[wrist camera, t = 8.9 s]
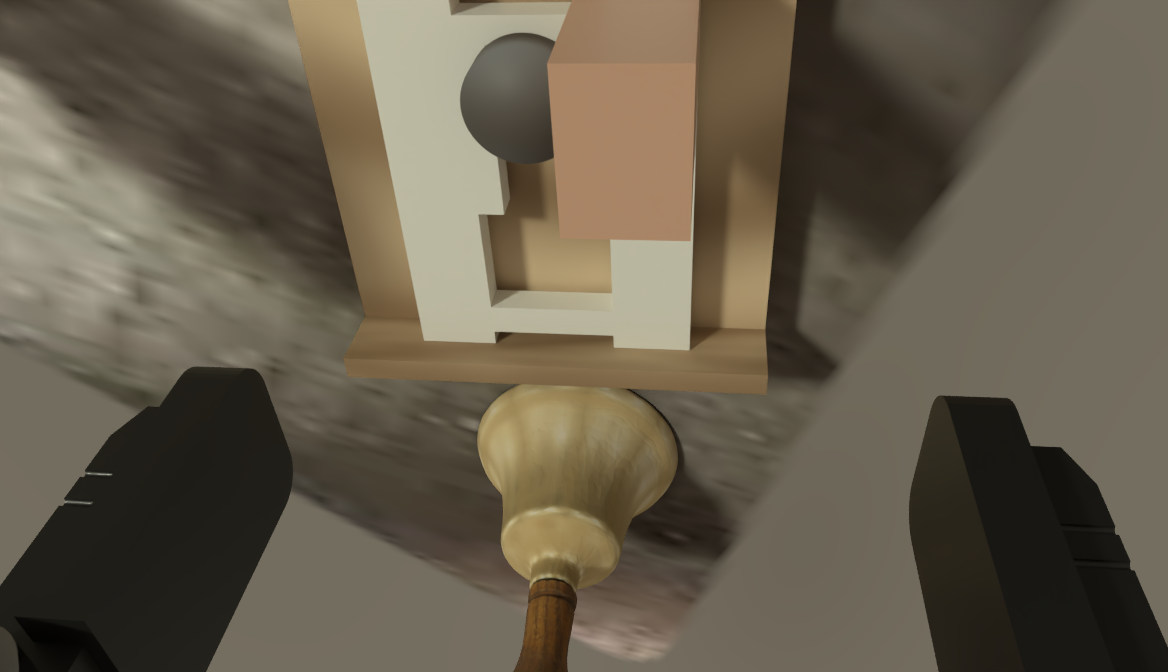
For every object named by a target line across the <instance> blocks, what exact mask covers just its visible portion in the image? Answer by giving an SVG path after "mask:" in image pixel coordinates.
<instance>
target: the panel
mask: <svg viewBox="0 0 1168 672" xmlns="http://www.w3.org/2000/svg"><path fill="white" fill-rule="evenodd" d="M356 1H357V6H358V11H359V16H360V21H361V26H362V31H363V36H364V41H365V46H366V51H367V56H368V61H369V66H370V71H371V76H372V81H373V86H374V91H375V97H376V102H377V107H378V112H379V117H380V122H381V127H382V132H383V137H384V142H385V147H386V152H387V157H388V162H389V167H390V172H391V177H392V182H393V187H394V192H395V197H396V202H397V207H398V212H399V217H400V222H401V227H402V232H403V237H404V242H405V247H406V252H407V257H408V262H409V267H410V272H411V277H412V283H413V288H414V293H415V298H416V303H417V308H418V313H419V318H420V323H421V328H422V333H423V338H424V341H446V342H474V343H496V341H497V338H498V335H499V332H520V333H548V334H577V335H606V336H613V338H614V348H637V349H665V350H690V325H691V294H692V262H693V231H694V199H695V168H696V136H697V104H698V73H699V41H700V10H701V0H572V2H517V3H459V0H356ZM512 33H533V34H538V35H541V36H544V37H547V38H549V39H551V40H553V41H555V45H554V47H553V50H552V52H551V55H550V57H549V60H548V63H547V69H548V83H549V96H550V110H551V123H552V136H553V150H554V163H555V177H556V190H557V204H558V217H559V231H560V238H564V239H609V240H610V251H611V280H612V293H585V292H551V291H517V290H497V287H496V279H495V272H494V264H493V256H492V249H491V241H490V233H489V226H488V218H487V215H504V214H505V211H506V208H507V205H508V203H509V200H510V193H509V184H508V175H507V166H506V160H503V159H501V158H499V157H496V156H495V155H493V154H491V153H489V152H488V151H487V150H485V149H484V148H483V147H482V146H481V145H480V144H479V143H478V142H477V141H476V140H475V139H474V138H473V136H472V135H471V133H470V132H469V130H468V129H467V127H466V125H465V122H464V120H463V117H462V113H461V108H460V92H461V87H462V83H463V81H464V78H465V76H466V74H467V72H468V71H469V69H470V67H471V65H472V64H473V62H474V60H475V58H476V57H477V55H478V54H479V53H480V51H481V50H482V49H483V48H484V47H485V46H486V45H487V44H489V43H490V42H492V41H493V40H495V39H497V38H499V37H501V36H504V35H507V34H512Z"/></svg>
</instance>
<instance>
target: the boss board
mask: <svg viewBox="0 0 1168 672" xmlns="http://www.w3.org/2000/svg"><path fill="white" fill-rule="evenodd" d="M288 2H289V6H290V10H291V14H292V18H293V22H294V26H295V31H296V35H297V39H298V43H299V47H300V51H301V55H302V59H303V63H304V67H305V71H306V76H307V80H308V84H309V88H310V92H311V96H312V100H313V104H314V108H315V112H316V116H317V120H318V125H319V129H320V133H321V137H322V141H323V145H324V149H325V153H326V157H327V161H328V165H329V170H330V174H331V178H332V182H333V186H334V190H335V194H336V198H337V202H338V206H339V210H340V215H341V219H342V223H343V227H344V231H345V235H346V239H347V243H348V247H349V251H350V255H351V259H352V264H353V268H354V272H355V276H356V280H357V284H358V288H359V292H360V296H361V300H362V304H363V309H364V313H365V318H364V319H363V321H362V323H361V325H360V327H359V329H358V331H357V333H356V335H355V337H354V339H353V341H352V343H351V345H350V347H349V349H348V351H347V353H346V354H345V356H344V358H343V359H344V363H345V367H346V370H347V374H348V377H364V378H388V379H412V380H435V381H459V382H483V383H506V384H530V385H554V386H578V387H601V388H625V389H649V390H673V391H696V392H720V393H744V394H766V392H767V382H768V365H767V350H766V335H765V326H766V315H767V305H768V294H769V284H770V274H771V263H772V253H773V242H774V232H775V221H776V211H777V201H778V190H779V180H780V169H781V159H782V148H783V138H784V128H785V117H786V107H787V96H788V86H789V75H790V65H791V55H792V44H793V34H794V23H795V13H796V3H797V0H701V10H700V41H699V73H698V104H697V136H696V168H695V199H694V231H693V262H692V294H691V325H690V350H665V349H637V348H614V338H613V336H606V335H577V334H548V333H520V332H499V335H498V338H497V341H496V343H474V342H446V341H424V338H423V333H422V328H421V323H420V318H419V313H418V308H417V303H416V298H415V293H414V288H413V283H412V277H411V272H410V267H409V262H408V257H407V252H406V247H405V242H404V237H403V232H402V227H401V222H400V217H399V212H398V207H397V202H396V197H395V192H394V187H393V182H392V177H391V172H390V167H389V162H388V157H387V152H386V147H385V142H384V137H383V132H382V127H381V122H380V117H379V112H378V107H377V102H376V97H375V91H374V86H373V81H372V76H371V71H370V66H369V61H368V56H367V51H366V46H365V41H364V36H363V31H362V26H361V21H360V16H359V11H358V6H357V1H356V0H288ZM517 2H572V0H459V3H517ZM554 45H555V41H553V40H551V39H549V38H547V37H544V36H541V35H538V34H533V33H512V34H507V35H504V36H501V37H499V38H497V39H495V40H493V41H492V42H490V43H489V44H487V45H486V46H485V47H484V48H483V49H482V50H481V51H480V53H479V54H478V55H477V57H476V58H475V60H474V62H473V64H472V65H471V67H470V69H469V71H468V72H467V74H466V76H465V78H464V81H463V83H462V87H461V92H460V108H461V113H462V117H463V120H464V122H465V125H466V127H467V129H468V130H469V132H470V133H471V135H472V136H473V138H474V139H475V140H476V141H477V142H478V143H479V144H480V145H481V146H482V147H483V148H484V149H485V150H487V151H488V152H489V153H491V154H493V155H495V156H496V157H499V158H501V159H503V160H506V166H507V175H508V184H509V193H510V200H509V203H508V205H507V208H506V211H505V214H504V215H487V218H488V226H489V233H490V241H491V249H492V256H493V264H494V272H495V279H496V287H497V290H517V291H551V292H585V293H612V280H611V251H610V240H609V239H564V238H560V231H559V217H558V204H557V190H556V177H555V163H554V150H553V136H552V123H551V110H550V96H549V83H548V69H547V63H548V60H549V57H550V55H551V52H552V50H553V47H554Z"/></svg>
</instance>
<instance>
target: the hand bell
mask: <svg viewBox="0 0 1168 672" xmlns="http://www.w3.org/2000/svg"><path fill="white" fill-rule="evenodd" d="M477 443H478V451H479V455H480V459H481V462H482V465H483V467H484V470H485V472H486V474H487V476H488V477H489V479H490V480H491V482H492V483H493V485H494V486H495V487H496V488H497V489H498V491H499V492H500V493H501V494H502V498H503V524H502V532H501V544H502V550H503V553H504V555H505V557H506V559H507V561H508V562H509V564H510V565H511V566H512V567H513V568H514V570H516V571H517V572H518V573H519V574H520V575H522V576H523V577H525V578H526V579H528V580H530V592H529V596H528V604H529V605H528V609H527V616H526V625H525V633H524V640H523V646H522V650H521V654H520V657H519V660H518V663H517V665H516V667H515V670H514V672H568V670H567V653H568V645H569V639H570V635H571V630H572V624H573V619H574V611H575V609H576V604H577V597H576V591H577V589H580V588H585V587H588V586H591V585H594V584H597V583H599V582H600V581H602V580H603V579H605V578H606V577H607V576H608V575H610V574H611V572H612V571H613V570H614V569H615V567H616V565H617V563H618V561H619V558H620V554H621V550H622V545H623V542H624V538H625V535H626V532H627V529H628V527H629V524H630V522H631V520H632V518H633V517H635V516H637V515H639V514H640V513H642V512H644V511H645V510H647V509H648V508H650V507H651V506H652V505H653V504H655V503H656V502H657V501H658V500H659V499H660V498H661V496H662V495H663V494H664V493H665V492H666V490H667V489H668V488H669V486H670V484H671V482H672V480H673V478H674V476H675V473H676V469H677V464H678V452H677V445H676V441H675V438H674V435H673V433H672V431H671V429H670V427H669V426H668V424H667V422H666V421H665V420H664V418H663V417H662V416H661V415H660V414H659V413H658V412H657V411H656V410H655V409H654V407H652V406H651V405H650V404H649V403H648V402H646V401H645V400H644V399H642V398H641V397H639V396H638V395H636V394H635V393H633V392H632V391H630V390H628V389H625V388H601V387H578V386H554V385H530V384H520V385H517V386H515V387H513V388H512V389H510V390H508V391H507V392H505V393H503V394H502V395H501V396H499V397H498V398H497V399H496V400H495V401H494V402H493V403H492V404H491V405H490V407H489V408H488V409H487V411H486V412H485V414H484V415H483V417H482V420H481V422H480V425H479V430H478V437H477Z"/></svg>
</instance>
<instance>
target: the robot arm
mask: <svg viewBox="0 0 1168 672" xmlns="http://www.w3.org/2000/svg"><path fill="white" fill-rule="evenodd" d="M85 471H86V474H85V477H80V478H79V479H78V481H77V482H76V483H75V485H74V486H73V487H72V489H71V490H70V491H69V493H68V494H67V495H66V497H65V498H64V499H65V504H64V505H63V506H59V507H58V508H57V509H56V510H55V512H54V513H53V515H52V516H51V517H50V519H49V520H48V522H47V523H46V524H45V525H44V527H43V528H42V530H41V531H40V532H39V534H38V535H37V536H36V538H35V539H34V540H33V542H32V543H31V545H30V546H29V547H28V549H27V550H26V552H25V553H24V554H23V556H22V557H21V558H20V560H19V561H18V562H17V564H16V565H15V566H14V568H13V569H12V571H11V572H10V573H9V575H8V576H7V577H6V579H5V580H4V581H3V583H2V584H1V586H0V672H206V671H207V669H208V666H209V664H210V662H211V660H212V658H213V656H214V654H215V652H216V650H217V648H218V646H219V644H220V642H221V639H222V637H223V635H224V633H225V631H226V629H227V627H228V625H229V623H230V621H231V619H232V616H233V614H234V612H235V610H236V608H237V606H238V604H239V602H240V600H241V598H242V596H243V594H244V591H245V589H246V587H247V585H248V583H249V581H250V579H251V577H252V575H253V573H254V571H255V569H256V566H257V565H258V562H259V560H260V558H261V556H262V554H263V552H264V550H265V548H266V546H267V544H268V542H269V539H270V537H271V535H272V533H273V531H274V529H275V527H276V525H277V523H278V521H279V519H280V516H281V514H282V512H283V510H284V508H285V506H286V504H287V501H288V499H289V495H290V491H291V486H292V478H293V465H292V458H291V454H290V451H289V448H288V445H287V442H286V440H285V437H284V434H283V432H282V429H281V426H280V423H279V421H278V418H277V415H276V412H275V410H274V407H273V404H272V401H271V399H270V396H269V393H268V391H267V388H266V385H265V382H264V380H263V378H262V376H261V375H260V373H258V372H257V371H256V370H254V369H250V368H222V367H191V368H189V369H188V370H186V371H185V372H184V373H183V374H182V375H181V377H180V378H179V379H178V381H177V382H176V384H175V385H174V387H173V388H172V389H171V391H170V392H169V394H168V395H167V397H166V398H165V400H164V401H163V402H162V404H161V405H160V407H149V406H148V407H147V408H145V409H144V410H143V411H141V412H140V413H139V414H138V415H136V416H135V417H134V418H132V419H131V420H130V421H129V422H127V423H126V424H125V425H123V426H122V427H121V428H120V429H118V430H117V431H116V432H115V433H113V434H112V435H111V436H110V437H109V438H108V440H107V441H106V442H105V444H104V445H103V446H102V448H101V449H100V450H99V452H98V453H97V455H96V456H95V457H94V459H93V460H92V461H91V463H90V464H89V466H88V467H87V468H86V470H85ZM909 524H910V535H911V541H912V546H913V551H914V555H915V561H916V565H917V570H918V575H919V580H920V584H921V589H922V594H923V599H924V603H925V608H926V613H927V618H928V623H929V628H930V632H931V637H932V642H933V647H934V652H935V656H936V660H937V666H938V671H939V672H1168V647H1167V645H1166V642H1165V640H1164V638H1163V635H1162V633H1161V631H1160V628H1159V626H1158V624H1157V621H1156V620H1155V617H1154V615H1153V612H1152V610H1151V608H1150V605H1149V603H1148V601H1147V598H1146V596H1145V594H1144V592H1143V589H1142V587H1141V585H1140V582H1139V580H1138V578H1137V576H1136V573H1135V571H1133V570H1131V569H1130V559H1129V557H1128V555H1127V552H1126V550H1125V548H1124V545H1123V543H1122V541H1121V539H1120V536H1119V535H1116V534H1115V525H1114V523H1113V520H1112V518H1111V516H1110V513H1109V511H1108V509H1107V506H1106V504H1105V502H1104V499H1103V497H1102V495H1101V493H1100V490H1099V488H1098V486H1097V484H1096V483H1095V482H1094V481H1093V480H1092V479H1091V478H1090V477H1089V476H1088V475H1087V474H1086V473H1085V472H1084V471H1083V470H1082V469H1081V468H1080V466H1079V465H1078V464H1077V463H1076V462H1075V461H1074V460H1073V459H1072V458H1071V457H1070V456H1069V455H1068V454H1067V453H1066V452H1065V451H1064V450H1063V449H1062V448H1060V447H1040V446H1030V443H1029V440H1028V438H1027V435H1026V432H1025V430H1024V427H1023V424H1022V422H1021V419H1020V416H1019V414H1018V411H1017V409H1016V406H1015V405H1014V403H1013V402H1012V401H1011V400H1010V399H1008V398H990V397H962V396H938V397H937V398H936V399H935V400H934V402H933V405H932V408H931V412H930V415H929V419H928V423H927V427H926V431H925V435H924V439H923V443H922V447H921V451H920V455H919V459H918V463H917V466H916V470H915V474H914V478H913V482H912V486H911V492H910V501H909Z"/></svg>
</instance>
